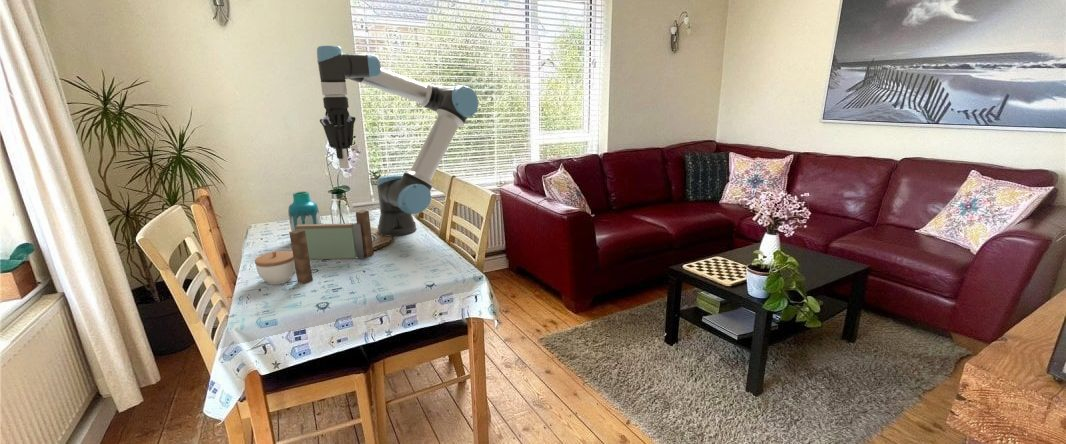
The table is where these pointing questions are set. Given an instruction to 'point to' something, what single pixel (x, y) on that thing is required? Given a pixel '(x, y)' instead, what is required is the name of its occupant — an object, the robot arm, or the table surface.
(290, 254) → the lidded jar
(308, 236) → the gate
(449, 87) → the robot arm
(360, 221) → the gate posts
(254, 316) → the table surface
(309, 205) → the vase
